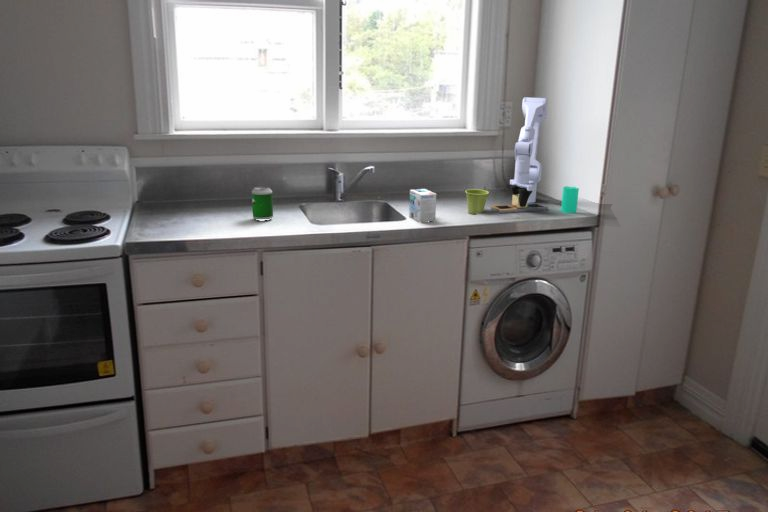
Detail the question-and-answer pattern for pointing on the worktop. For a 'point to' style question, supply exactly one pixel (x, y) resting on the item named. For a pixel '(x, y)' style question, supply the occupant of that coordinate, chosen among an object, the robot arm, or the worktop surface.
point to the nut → (517, 201)
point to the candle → (569, 199)
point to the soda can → (262, 203)
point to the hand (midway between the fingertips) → (519, 205)
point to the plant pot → (476, 200)
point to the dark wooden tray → (512, 209)
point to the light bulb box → (422, 205)
